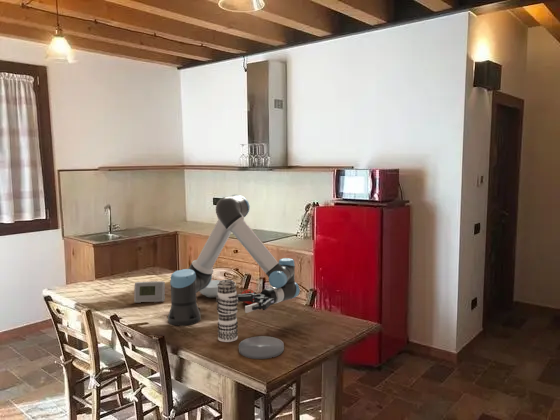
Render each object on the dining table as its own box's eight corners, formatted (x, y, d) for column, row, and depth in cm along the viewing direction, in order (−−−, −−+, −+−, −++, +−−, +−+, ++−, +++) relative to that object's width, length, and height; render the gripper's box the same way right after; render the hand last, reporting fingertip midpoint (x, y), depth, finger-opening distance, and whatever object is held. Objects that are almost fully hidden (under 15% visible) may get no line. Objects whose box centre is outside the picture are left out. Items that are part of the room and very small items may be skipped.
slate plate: (237, 359, 173) (237, 354, 173) (239, 341, 191) (239, 336, 190) (285, 358, 174) (285, 353, 174) (282, 340, 192) (282, 335, 191)
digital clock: (132, 303, 244) (131, 284, 243) (139, 298, 253) (138, 279, 252) (162, 304, 242) (161, 284, 241) (167, 299, 251) (167, 280, 250)
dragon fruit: (242, 303, 247) (257, 311, 239) (233, 297, 241) (249, 305, 233) (249, 289, 249) (265, 297, 241) (241, 283, 243) (257, 291, 235)
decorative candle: (238, 333, 200) (237, 277, 197) (239, 341, 190) (238, 283, 188) (217, 334, 198) (215, 278, 196) (217, 343, 189) (215, 284, 187)
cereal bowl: (230, 298, 252) (230, 285, 251) (200, 301, 247) (199, 288, 246) (225, 290, 268) (224, 278, 267) (196, 292, 263) (196, 280, 262)
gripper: (291, 309, 201) (254, 321, 186) (254, 298, 219) (218, 307, 204) (290, 293, 200) (254, 303, 186) (254, 282, 218) (217, 291, 204)
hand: (235, 306), depth 195 cm, fingers open, 13 cm apart
